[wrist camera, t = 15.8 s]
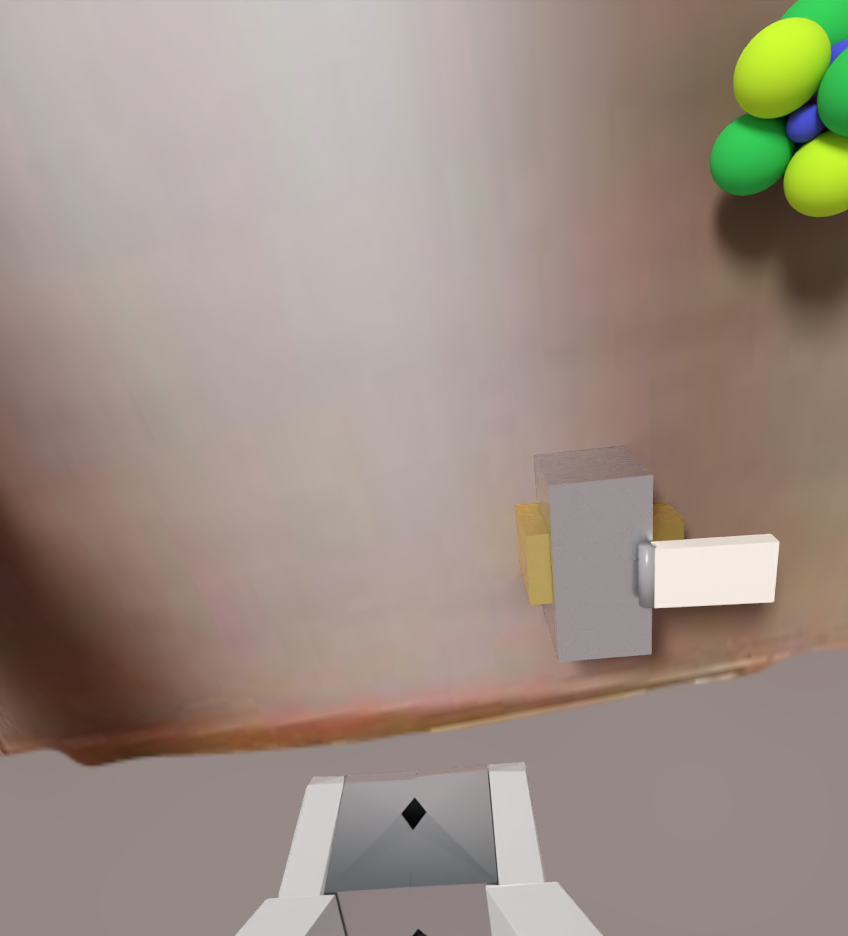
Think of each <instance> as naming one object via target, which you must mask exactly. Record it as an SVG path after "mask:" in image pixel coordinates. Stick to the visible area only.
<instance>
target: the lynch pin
mask: <svg viewBox="0 0 848 936" xmlns="http://www.w3.org/2000/svg"><path fill="white" fill-rule="evenodd" d="M515 509H516V522H517V536H518V549H519V562H520V570H521V573H522V577H523V581H524V585H525V588H526V592H527V596H528V600H529V603H530V605H540V604H551V603H553V590H552V572H551V554H550V537H549V532H548V529H547V527H546V524H545V522H544V519H543V517H542V515H541V512H540V510H539V507H538V505H537V503H529V504H519V505H515ZM670 540H684V519H683V518H682V517H681V516H680V515H679V514H678V513H677V512H676V511H675V510H674V509H673V508H672V507H671V506H670V505H669V504H668V503H659V504H653V542H655V541H670Z"/></svg>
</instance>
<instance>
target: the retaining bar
mask: <svg viewBox="0 0 848 936" xmlns="http://www.w3.org/2000/svg"><path fill="white" fill-rule="evenodd" d="M778 551H779V541H778V540H777V539H776V538H775V537H774V536H773V535H772V534H762V535H746V536H731V537H716V538H701V539H685V540H670V541H655V542H643V543H640V544H639V605H640V606H641V607H643V608H669V607H688V606H708V605H728V604H747V603H767V602H774V596H775V584H776V573H777V562H778Z"/></svg>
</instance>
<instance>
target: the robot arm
mask: <svg viewBox="0 0 848 936" xmlns="http://www.w3.org/2000/svg"><path fill="white" fill-rule="evenodd" d="M488 770H489V774H488ZM489 780H490V782H489ZM490 790H491V791H490ZM235 936H604V935H603V934H602V933H601V931H600V930H599V929H598V928H597V927H596V926H595V924H594V923H593V922H592V921H591V919H589V917H588V916H587V915H586V913H585V912H584V911H583V910H582V909H581V908H580V906H579V905H578V904H577V903H576V902H575V900H574V899H573V898H572V897H571V895H570V894H569V893H568V892H567V891H566V889H565V888H564V887H563V886H562V885H561V883H560V882H547V881H546V875H545V869H544V864H543V857H542V852H541V846H540V840H539V834H538V829H537V823H536V817H535V811H534V806H533V800H532V794H531V788H530V782H529V776H528V772H527V767H526V766H525V764H524V762H519V763H507V764H493V765H489V768H488V766H487V765H477V766H465V767H454V768H442V769H431V770H419V771H418V772H397V773H375V774H374V773H373V774H350V775H343V776H342V775H341V776H321V777H313V778H312V779H311V781H310V783H309V784H308V786H307V788H306V791H305V795H304V800H303V803H302V807H301V811H300V814H299V818H298V822H297V826H296V830H295V834H294V838H293V841H292V846H291V849H290V853H289V857H288V860H287V865H286V868H285V872H284V876H283V880H282V884H281V888H280V891H279V895H278V897H277V898H266V900H265V901H264V902H263V903H262V904H261V906H260V907H259V908H258V909H257V910H256V911H255V912H254V913H253V915H252V916H251V917H250V918H249V919H248V920H247V922H246V923H245V924H244V925H243V926H242V927H241V929H240V930H239V931H238V932H237V933H236V935H235Z"/></svg>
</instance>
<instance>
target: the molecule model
mask: <svg viewBox="0 0 848 936" xmlns="http://www.w3.org/2000/svg"><path fill="white" fill-rule="evenodd" d="M733 88H734V94H735V97H736V100H737V102H738V103H739V105H740V106H741V108H742V109H743V110H744V111H746V112H747V113H748V114H745V115H743V116H741V117H739V118H737V119H736V120H734V121H733V122H731V123H730V124H729V125H728V126H727V127H726V128H725V129H724V130H723V131H722V132H721V134H720V135H719V137H718V138H717V140H716V142H715V144H714V146H713V149H712V152H711V156H710V170H711V174H712V177H713V179H714V181H715V182H716V184H717V185H718V186H719V187H720V188H721V189H723V190H724V191H726V192H728V193H730V194H734V195H741V196H745V195H752V194H756V193H759V192H761V191H763V190H765V189H767V188H769V187H770V186H772V185H773V184H774V183H776V182H777V181H778V180H779V179H780V178H781V177H782V176H783V174H784V173H785V175H784V182H783V187H784V193H785V196H786V199H787V201H788V202H789V204H790V205H791V206H792V207H793V208H794V209H795V210H796V211H798V212H800V213H802V214H804V215H807V216H812V217H827V216H832V215H835V214H838V213H841V212H843V211H845V210H847V209H848V0H799V1H797V2H796V3H795V4H794V5H793V6H791V7H790V8H789V9H788V11H787V12H786V13H785V14H784V15H783V17H782V18H781V20H780V21H777V22H775V23H773V24H771V25H769V26H768V27H766V28H765V29H763V30H762V31H761V32H759V33H758V34H757V35H756V36H755V37H754V38H753V39H752V40H751V41H750V42H749V44H748V45H747V46H746V48H745V49H744V51H743V52H742V54H741V56H740V58H739V60H738V62H737V65H736V68H735V72H734V78H733Z"/></svg>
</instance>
